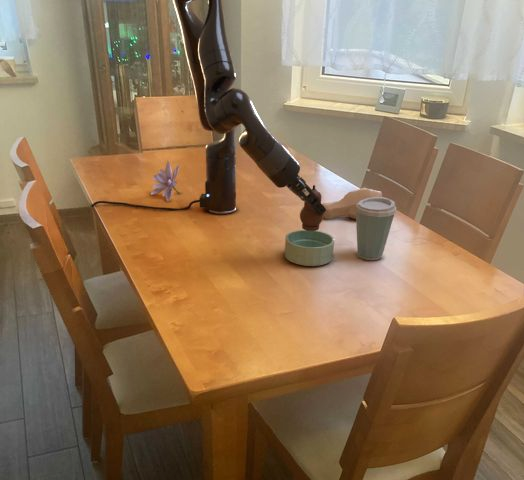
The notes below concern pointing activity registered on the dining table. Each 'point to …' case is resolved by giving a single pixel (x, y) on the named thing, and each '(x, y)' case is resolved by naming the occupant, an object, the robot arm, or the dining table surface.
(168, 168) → the water lily
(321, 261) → the bowl
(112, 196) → the dining table surface
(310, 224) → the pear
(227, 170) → the robot arm
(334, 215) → the squash
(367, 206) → the disposable coffee cup
